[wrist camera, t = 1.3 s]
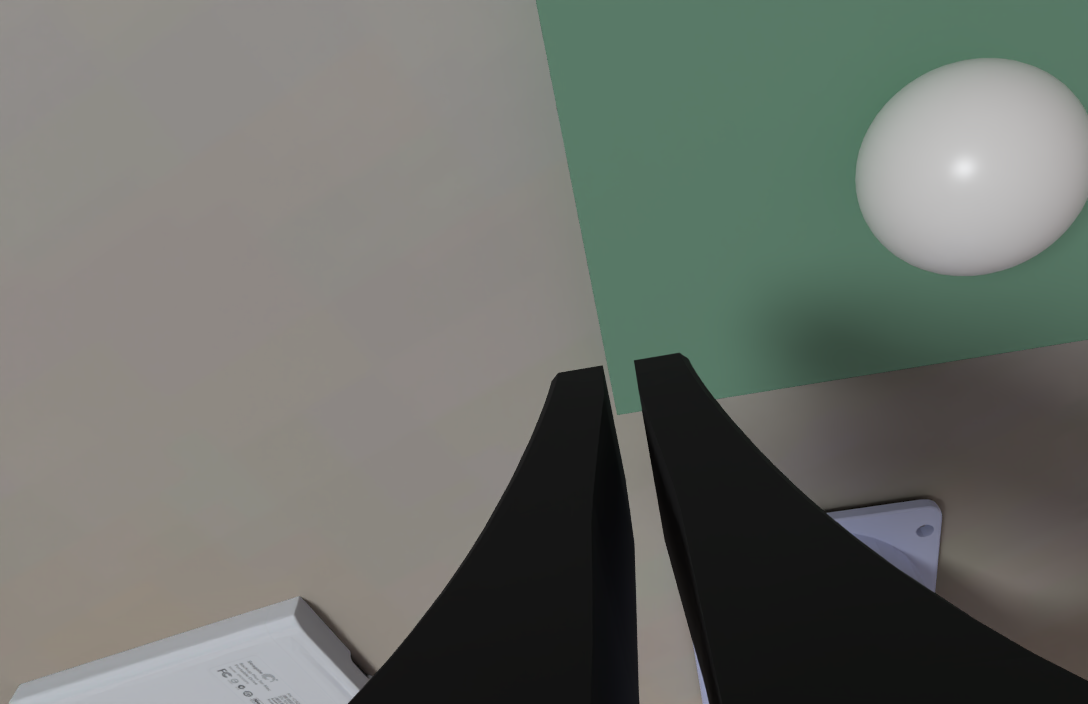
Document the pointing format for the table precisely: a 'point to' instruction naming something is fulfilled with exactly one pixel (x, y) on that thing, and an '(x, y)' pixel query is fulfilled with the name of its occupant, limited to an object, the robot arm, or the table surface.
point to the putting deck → (784, 185)
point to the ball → (974, 167)
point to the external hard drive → (217, 666)
